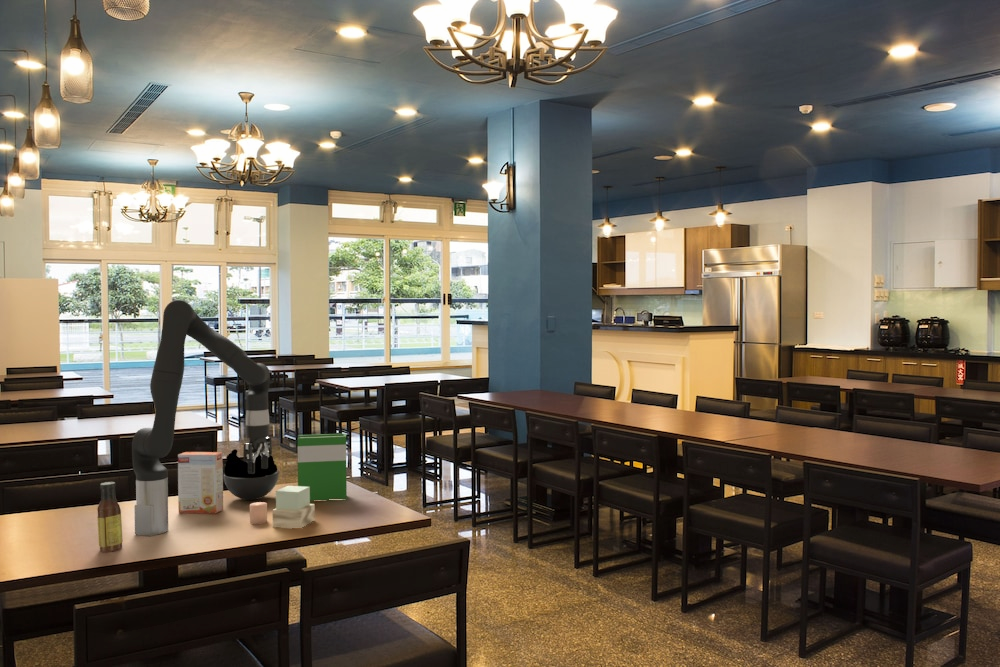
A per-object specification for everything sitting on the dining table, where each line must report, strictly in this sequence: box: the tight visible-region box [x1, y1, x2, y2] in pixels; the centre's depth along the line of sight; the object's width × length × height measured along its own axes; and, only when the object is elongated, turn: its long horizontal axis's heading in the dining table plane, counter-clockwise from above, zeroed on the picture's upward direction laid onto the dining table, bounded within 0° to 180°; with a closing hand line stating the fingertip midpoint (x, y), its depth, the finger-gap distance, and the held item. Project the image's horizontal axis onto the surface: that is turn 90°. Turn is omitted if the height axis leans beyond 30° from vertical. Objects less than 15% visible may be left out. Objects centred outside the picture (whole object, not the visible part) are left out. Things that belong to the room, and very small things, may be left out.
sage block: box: [275, 485, 311, 510], centre depth 252 cm, size 8×8×6 cm
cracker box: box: [177, 451, 224, 514], centre depth 269 cm, size 14×6×21 cm, turn 84°
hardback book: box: [297, 433, 348, 501], centre depth 287 cm, size 18×7×24 cm, turn 103°
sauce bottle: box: [96, 481, 123, 553], centre depth 225 cm, size 6×6×20 cm
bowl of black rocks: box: [223, 449, 280, 501], centre depth 287 cm, size 20×20×19 cm
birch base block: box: [272, 503, 316, 529], centre depth 253 cm, size 10×10×6 cm
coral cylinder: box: [249, 501, 268, 525], centre depth 255 cm, size 6×6×6 cm
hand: (258, 471), depth 255 cm, fingers open, 8 cm apart
